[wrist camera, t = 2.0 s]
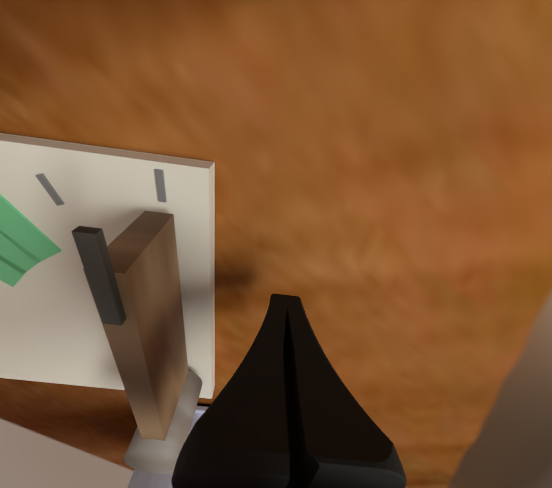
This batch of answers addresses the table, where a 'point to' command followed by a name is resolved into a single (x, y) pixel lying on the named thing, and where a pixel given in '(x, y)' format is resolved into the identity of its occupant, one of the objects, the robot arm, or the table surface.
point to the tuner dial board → (67, 263)
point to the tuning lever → (145, 332)
